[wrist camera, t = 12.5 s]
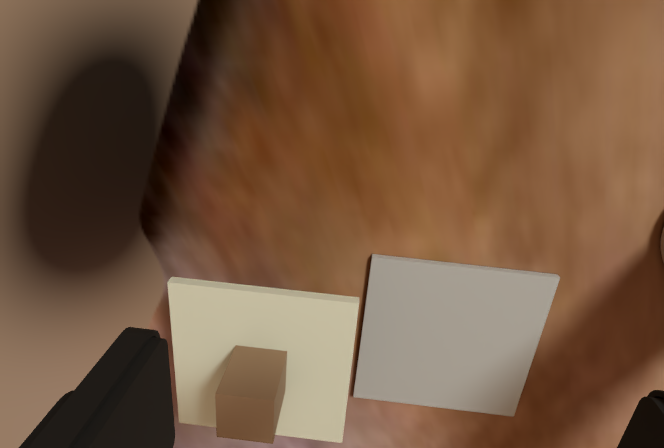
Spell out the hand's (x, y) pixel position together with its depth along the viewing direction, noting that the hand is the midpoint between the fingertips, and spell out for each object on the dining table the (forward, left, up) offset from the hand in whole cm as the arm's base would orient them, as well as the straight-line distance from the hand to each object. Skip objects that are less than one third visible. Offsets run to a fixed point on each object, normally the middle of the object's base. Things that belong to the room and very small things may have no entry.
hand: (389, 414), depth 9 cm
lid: (+7, +18, -21) cm, 29 cm away
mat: (-9, +19, -28) cm, 35 cm away
